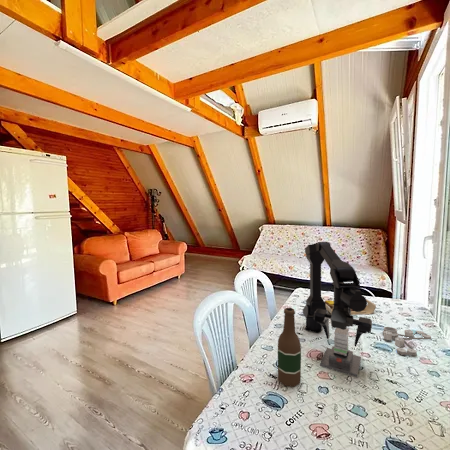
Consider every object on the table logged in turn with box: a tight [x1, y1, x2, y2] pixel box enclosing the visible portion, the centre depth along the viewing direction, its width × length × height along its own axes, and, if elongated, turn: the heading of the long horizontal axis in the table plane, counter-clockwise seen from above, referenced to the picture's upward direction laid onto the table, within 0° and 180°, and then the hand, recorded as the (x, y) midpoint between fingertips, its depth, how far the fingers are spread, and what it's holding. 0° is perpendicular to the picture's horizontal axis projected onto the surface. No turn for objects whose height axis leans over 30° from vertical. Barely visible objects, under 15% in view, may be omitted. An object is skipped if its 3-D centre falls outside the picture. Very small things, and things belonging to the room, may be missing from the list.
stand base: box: [319, 345, 362, 378], centre depth 95 cm, size 12×12×4 cm
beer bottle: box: [277, 307, 302, 388], centre depth 86 cm, size 8×8×24 cm
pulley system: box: [382, 326, 432, 356], centre depth 110 cm, size 27×5×15 cm
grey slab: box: [333, 327, 350, 356], centre depth 95 cm, size 4×6×8 cm
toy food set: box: [324, 298, 377, 316], centre depth 145 cm, size 25×18×8 cm
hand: (341, 342), depth 95 cm, fingers open, 9 cm apart
